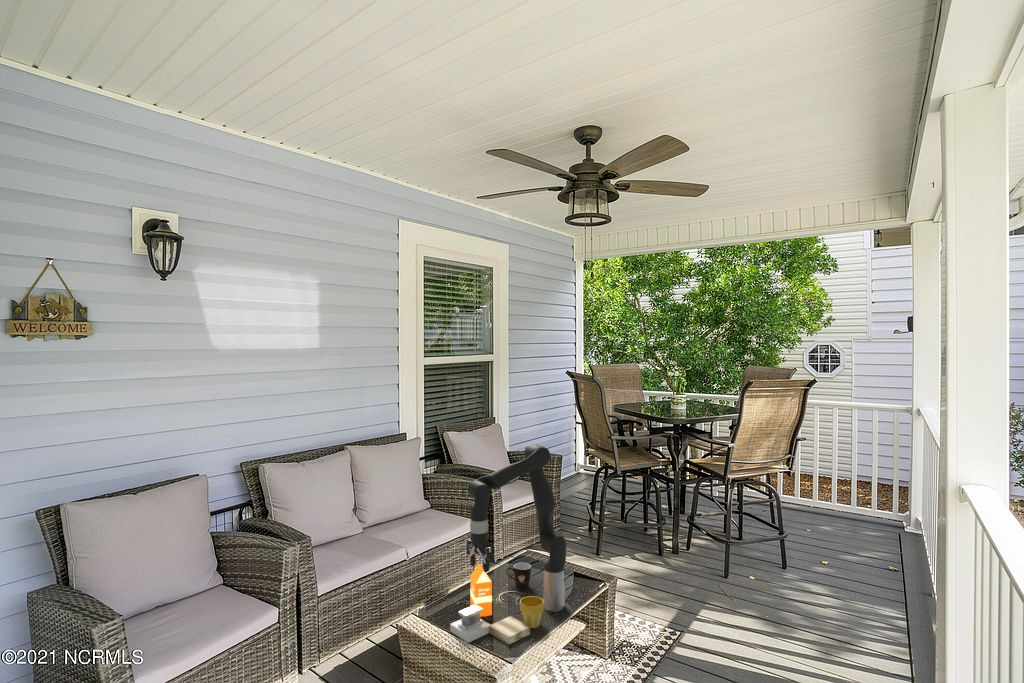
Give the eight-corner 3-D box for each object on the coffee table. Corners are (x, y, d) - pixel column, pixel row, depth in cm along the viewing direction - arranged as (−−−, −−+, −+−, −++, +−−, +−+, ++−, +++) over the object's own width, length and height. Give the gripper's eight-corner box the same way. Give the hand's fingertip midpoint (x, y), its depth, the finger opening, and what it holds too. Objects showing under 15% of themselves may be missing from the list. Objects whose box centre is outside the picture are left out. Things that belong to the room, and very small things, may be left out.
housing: (475, 618, 227) (475, 604, 227) (482, 622, 223) (483, 608, 223) (458, 625, 221) (458, 611, 221) (465, 630, 217) (466, 615, 217)
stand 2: (510, 622, 229) (510, 615, 229) (530, 633, 221) (530, 626, 221) (489, 633, 221) (489, 625, 221) (508, 644, 212) (509, 637, 212)
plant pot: (529, 615, 236) (529, 593, 236) (548, 623, 229) (549, 600, 229) (514, 625, 228) (514, 601, 228) (534, 633, 221) (534, 609, 221)
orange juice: (486, 605, 244) (486, 561, 245) (492, 615, 236) (492, 569, 236) (469, 608, 242) (470, 563, 242) (474, 617, 233) (475, 571, 234)
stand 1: (472, 621, 231) (472, 614, 231) (490, 632, 222) (490, 624, 222) (450, 631, 222) (450, 623, 222) (468, 642, 214) (468, 635, 214)
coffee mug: (534, 585, 266) (534, 565, 266) (525, 591, 259) (525, 571, 259) (514, 579, 272) (514, 559, 272) (505, 586, 265) (505, 565, 265)
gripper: (497, 531, 222) (497, 571, 222) (475, 523, 232) (475, 560, 232) (483, 536, 217) (483, 576, 217) (461, 527, 227) (462, 566, 227)
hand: (479, 568), depth 224 cm, fingers open, 8 cm apart
